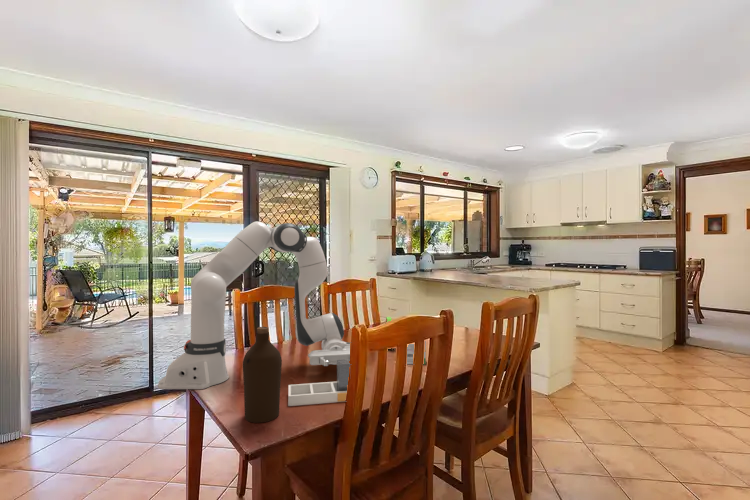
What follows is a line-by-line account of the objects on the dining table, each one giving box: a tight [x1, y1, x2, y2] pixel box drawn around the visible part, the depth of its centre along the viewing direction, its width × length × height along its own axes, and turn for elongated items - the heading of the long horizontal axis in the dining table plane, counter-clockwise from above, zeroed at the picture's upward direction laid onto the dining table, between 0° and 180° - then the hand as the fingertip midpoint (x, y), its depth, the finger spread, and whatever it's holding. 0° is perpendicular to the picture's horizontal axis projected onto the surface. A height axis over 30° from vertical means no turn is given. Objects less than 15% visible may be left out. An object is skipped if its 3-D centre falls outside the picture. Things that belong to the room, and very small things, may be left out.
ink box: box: [406, 340, 427, 365], centre depth 158 cm, size 8×5×12 cm, turn 88°
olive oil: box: [242, 326, 283, 424], centre depth 107 cm, size 11×11×25 cm
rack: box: [287, 381, 347, 407], centre depth 120 cm, size 21×10×3 cm, turn 103°
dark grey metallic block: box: [336, 359, 351, 392], centre depth 122 cm, size 4×5×11 cm
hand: (339, 363), depth 132 cm, fingers open, 8 cm apart
